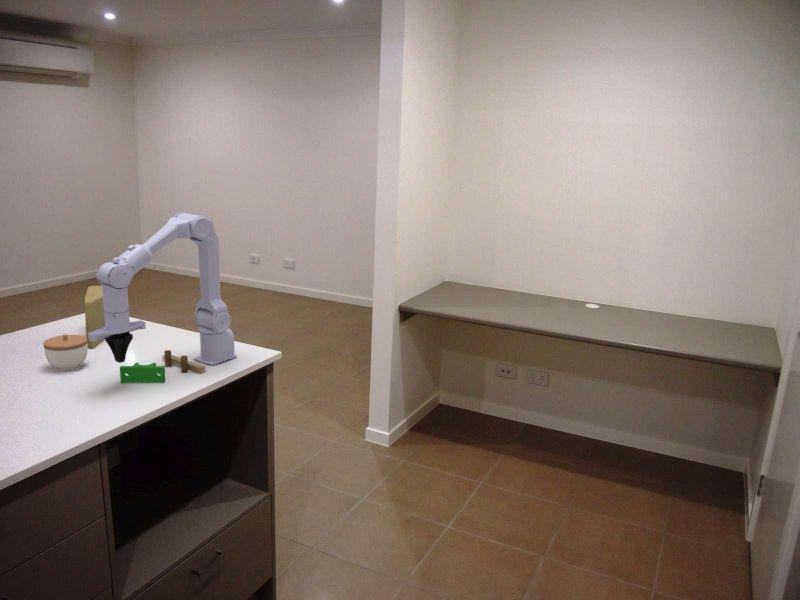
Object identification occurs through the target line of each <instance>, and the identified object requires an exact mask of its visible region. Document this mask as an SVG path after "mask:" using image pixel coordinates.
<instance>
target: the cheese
mask: <svg viewBox="0 0 800 600" xmlns="http://www.w3.org/2000/svg"><path fill="white" fill-rule="evenodd" d="M83 303H84V314H85V315H84V317H85V318H84V319H85V337H86V338H87V340H88V342H87V346H88V349H95V348H97V346H99V345H100V344H101V343H102V342H103V341H105V339H104V338H103V339H99V340H97V341H95V342H92V341H89V338H88V333H90V332H93V331H96V330H98V329H101V328H103V327H105V319H104V306H103V292H102V285H90V286H88V287H87V289H86V293H85V296H84V302H83ZM99 343H100V344H99ZM98 344H99V345H98ZM94 347H95V348H94Z"/></svg>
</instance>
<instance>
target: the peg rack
mask: <svg viewBox="0 0 800 600" xmlns="http://www.w3.org/2000/svg"><path fill="white" fill-rule="evenodd" d="M161 358H162V363H163V362H164V364H165V365H164V366H165V368H171V367H172V366H175V367H178V368H180V372H181V374H185V373H188V372H189V371H190V372H192V373H195V374H198V375H202V374H204V373H206V366H205V365H203V364H200V363H197V362H194V361H192V360H189V359H188V355H181V356H180V357H179V356H176V355H173V354H172V350H170V349H168V350H164V354H162V355H161Z"/></svg>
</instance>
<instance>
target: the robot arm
mask: <svg viewBox="0 0 800 600" xmlns="http://www.w3.org/2000/svg"><path fill="white" fill-rule="evenodd" d="M214 227H215V226H214V221H212V220H211V219H209V217H207V216H206V215H202V214H201V215H198V214H192V213H187V212H184V211H183V212H182V211H181V212H178V213H176V214H175V215H174V216H172V217H171V218H169V219H168V222H167V223H166V224H164V226H163V227H162V228H160V229H159V230H158V231H157V232H156V233H155V234H153V235H152V236H150V238H149V239H147V240H146V241H145V242H143V244H138V243H134V244H130V245H129V246H127V250H126V251H124V252H123V253H122V254H120V255H119V256H118V257H117V256H116V257H114V258H113V259H112V262H110V261H109V262H105V263H103V264H102V265H101V266H100V267H99V268H98V271H97V273H96V274H95V277H96V280H97V281H98V282H99V283H100V286H102V292H103V306H104V319H105V327H103V328H101V329H98V330H96V331H93V332H90V333H88V338H89V341H92V342H95V341H97V340H99V339H103V338H104V341H105V342H106V344H107V345H108V346H109V348H110V350H111V352H112V355H113V358H114V361H115V362H117V363H118V364H121V363H124V362H125V361H126V357H127V352H128V348H129V347H130V344H131V341H132V340H133V339H134V336H133V335H134V334H132V332H135V331H138V330H145V329H146V321H143V320H136V321H130V308H129V307H130V306H129V305H130V304H129V292H128V291H129V290H128V286H129V285H130V284H131V282H132V280H133V277H134V275H136V274H137V273H138V272H140V271H141V270H142V269H143V268H144V267H146V266H147V265H148V264H150V263H151V262H152V261H153V260H152V259H153V255H154V254H155V253H157V252H158V251H159V250H162V249H163V248H164V247H165V246H167V245H168V244H170V243H172V242H173V241H174V240H176V239H189V240H190V241H192V243H194V244H196V245H197V246H198V266H199V268H198V270H199V286H200V288H199V290H200V299H199V301H197V302H196V304H195V306H196V309H195V312H194V315H193V321H194V323H195V324H196V326H198V330H199V341H200V342H199V344H200V345H199V347H200V355H199V356H196V357H194V360H195V361H197V362H201V363H203V364H206V365H209V366H215V365H218V364H221V363H224V362H226V360H227V361H229V360H232V359H235V358H237V355H236V354H235V335H234V332H233V331H232V329H231V328H229V327H230V325H231V321H232V320H231V316H230V314H229V311H228V306H227V304H226V303H225V302H224V301H223V300H222V298H221V295H222V294H221V276H220V275H221V272H220V269H221V268H220V247H219V246H220V245H219V237H218V235H217V233H216V230H215V228H214ZM130 332H131V333H130ZM234 357H235V358H234ZM231 358H232V359H231ZM228 359H229V360H228ZM223 361H224V362H223ZM220 362H221V363H220Z"/></svg>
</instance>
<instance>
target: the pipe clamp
mask: <svg viewBox="0 0 800 600" xmlns="http://www.w3.org/2000/svg"><path fill="white" fill-rule="evenodd" d="M119 376H120V384H159V383H160V384H165V383H166V367H165V365H157V362H151V363H149V364H139V362H135V363H134V364H133V365H121V366H119Z"/></svg>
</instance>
